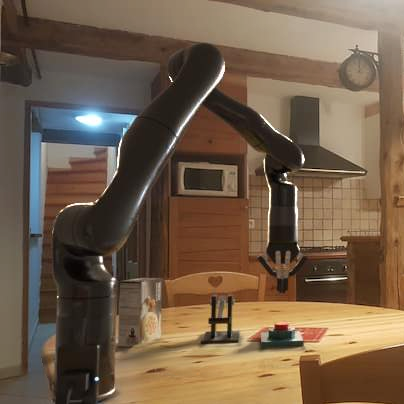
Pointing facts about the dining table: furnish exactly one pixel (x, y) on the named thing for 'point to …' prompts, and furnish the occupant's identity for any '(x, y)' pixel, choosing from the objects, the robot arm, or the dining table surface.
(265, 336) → the button housing
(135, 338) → the coffee box
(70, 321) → the robot arm
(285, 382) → the dining table surface
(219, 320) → the lever
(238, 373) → the dining table surface
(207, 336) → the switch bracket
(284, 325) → the stop button
